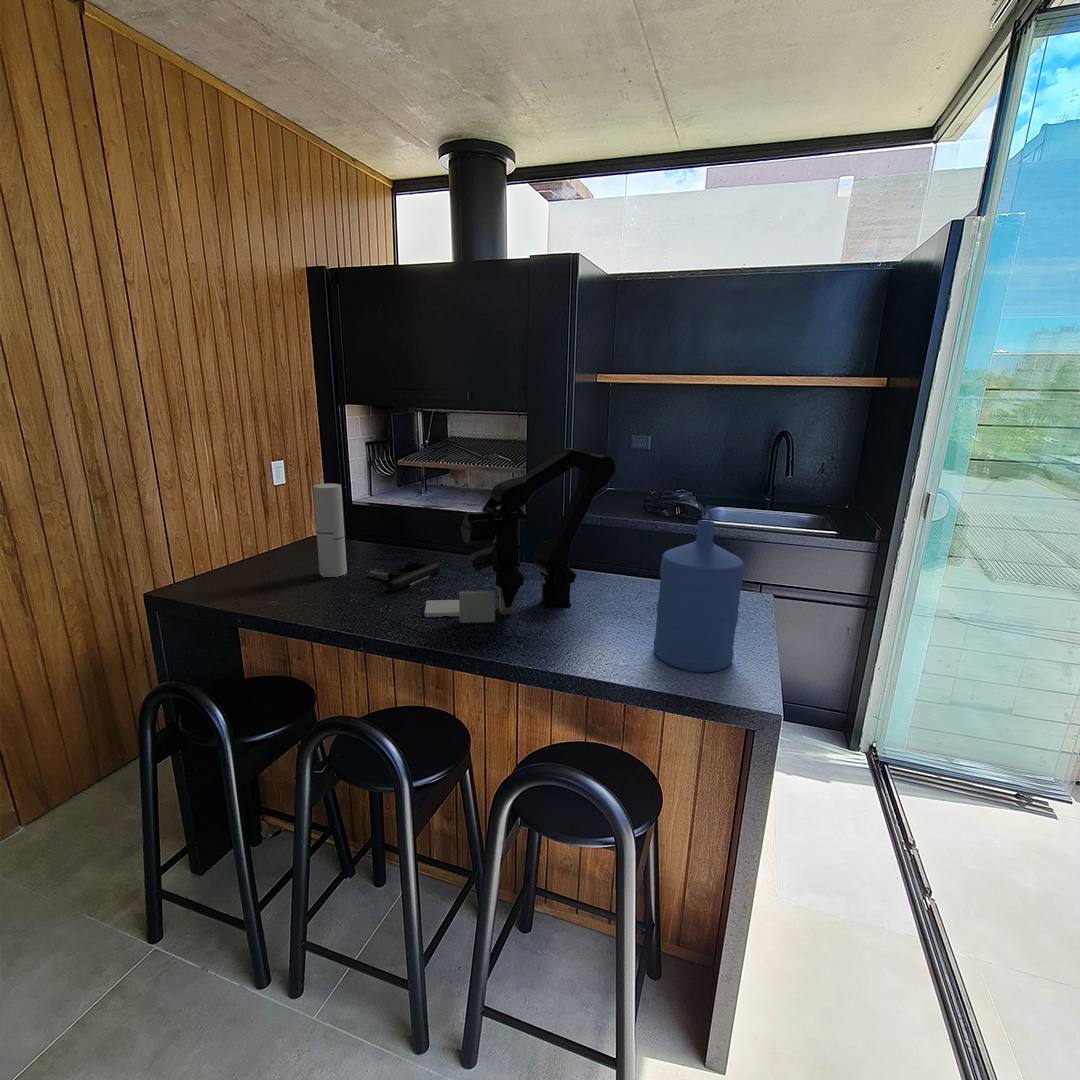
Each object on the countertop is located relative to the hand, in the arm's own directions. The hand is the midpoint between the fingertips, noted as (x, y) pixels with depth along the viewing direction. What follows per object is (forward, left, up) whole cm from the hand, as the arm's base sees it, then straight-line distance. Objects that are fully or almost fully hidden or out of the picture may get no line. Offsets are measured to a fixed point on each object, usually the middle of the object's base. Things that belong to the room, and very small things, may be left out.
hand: (506, 601), depth 134 cm
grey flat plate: (+14, -2, -2) cm, 14 cm away
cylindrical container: (+46, -31, -3) cm, 56 cm away
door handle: (+27, -27, -3) cm, 38 cm away
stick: (0, 0, -3) cm, 3 cm away
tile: (+7, +5, -3) cm, 9 cm away
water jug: (-36, +26, -3) cm, 44 cm away
